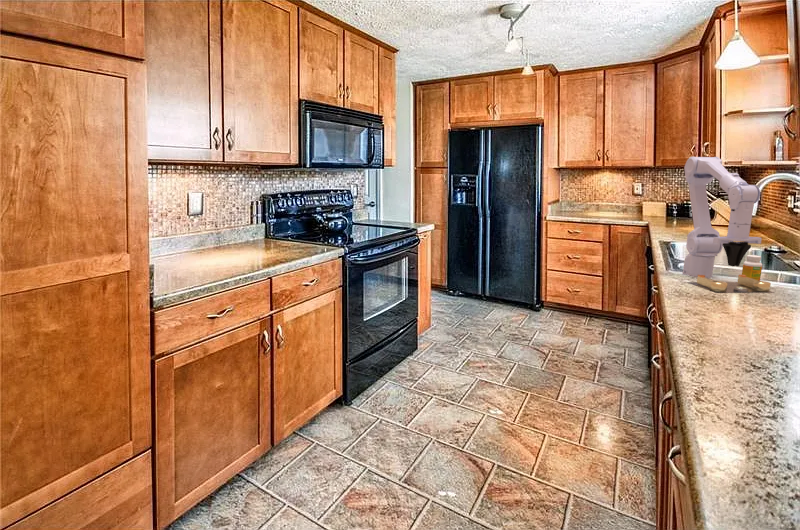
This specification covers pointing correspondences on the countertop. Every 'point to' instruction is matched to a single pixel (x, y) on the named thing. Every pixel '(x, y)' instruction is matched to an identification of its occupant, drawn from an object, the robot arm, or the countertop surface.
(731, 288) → the grey metal plate
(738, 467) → the countertop surface
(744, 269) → the supplement bottle
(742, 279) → the knob
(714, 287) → the knob
